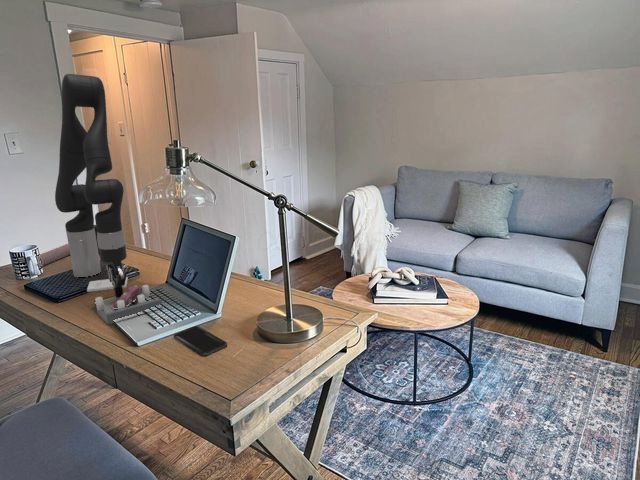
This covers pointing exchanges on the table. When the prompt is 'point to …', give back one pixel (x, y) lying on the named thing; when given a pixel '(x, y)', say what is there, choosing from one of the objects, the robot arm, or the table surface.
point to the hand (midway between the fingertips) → (119, 296)
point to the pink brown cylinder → (54, 254)
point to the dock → (128, 310)
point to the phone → (200, 341)
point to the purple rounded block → (129, 295)
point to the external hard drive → (102, 285)
